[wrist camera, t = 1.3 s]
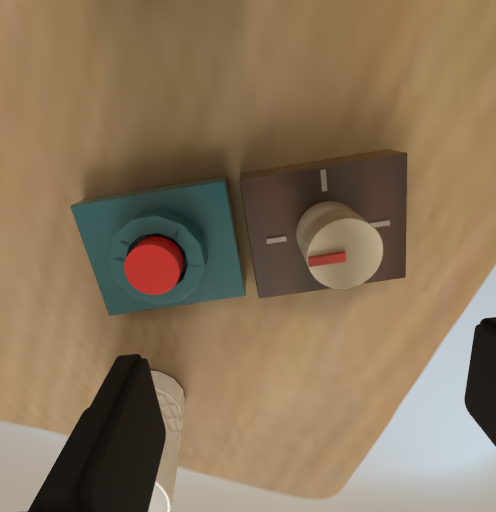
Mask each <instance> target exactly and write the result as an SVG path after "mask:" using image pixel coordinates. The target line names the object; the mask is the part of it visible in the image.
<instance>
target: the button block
mask: <svg viewBox="0 0 496 512" xmlns="http://www.w3.org/2000/svg"><path fill="white" fill-rule="evenodd" d="M71 209H72V212H73V215H74V217H75V220H76V223H77V226H78V229H79V232H80V234H81V237H82V240H83V243H84V246H85V248H86V251H87V254H88V257H89V260H90V262H91V265H92V268H93V271H94V274H95V276H96V279H97V282H98V285H99V288H100V290H101V293H102V296H103V299H104V302H105V305H106V307H107V310H108V313H109V315H116V314H123V313H130V312H137V311H144V310H151V309H157V308H164V307H171V306H178V305H185V304H192V303H199V302H205V301H212V300H219V299H226V298H233V297H240V296H245V295H246V283H245V277H244V272H243V266H242V261H241V255H240V249H239V244H238V238H237V233H236V227H235V221H234V216H233V210H232V205H231V199H230V194H229V188H228V182H227V177H226V176H223V177H217V178H211V179H205V180H199V181H193V182H187V183H181V184H174V185H168V186H162V187H156V188H150V189H144V190H138V191H132V192H126V193H119V194H113V195H107V196H101V197H95V198H89V199H84V200H82V201H80V202H77V203H75V204H73V205H71ZM152 236H159V237H164V238H167V239H169V240H171V241H172V242H173V243H175V244H176V245H177V246H178V247H179V249H180V250H181V252H182V255H183V259H184V266H183V270H182V272H181V274H180V277H179V279H178V281H177V283H176V285H175V286H174V287H173V288H172V289H171V290H169V291H168V292H166V293H163V294H159V295H151V294H146V293H143V292H141V291H139V290H137V289H136V288H134V287H133V286H132V285H131V284H130V282H129V281H128V279H127V277H126V275H125V271H124V264H125V260H126V257H127V255H128V254H129V253H130V252H131V250H132V249H133V248H134V247H135V246H136V245H137V244H138V243H139V242H140V241H141V240H143V239H145V238H147V237H152Z"/></svg>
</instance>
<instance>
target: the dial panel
mask: <svg viewBox="0 0 496 512" xmlns="http://www.w3.org/2000/svg"><path fill="white" fill-rule="evenodd" d="M239 182H240V188H241V194H242V200H243V206H244V212H245V218H246V224H247V230H248V236H249V242H250V248H251V254H252V260H253V266H254V272H255V278H256V284H257V290H258V296H259V298H267V297H274V296H281V295H288V294H295V293H301V292H308V291H315V290H322V289H329V288H331V287H328V286H325V285H323V284H322V283H320V282H319V281H317V280H316V279H315V278H314V276H313V275H312V274H311V272H310V270H309V268H308V265H307V263H306V261H305V259H304V256H303V254H302V252H301V250H300V247H299V245H298V242H297V238H296V230H297V225H298V223H299V220H300V218H301V217H302V215H303V214H304V213H305V212H306V211H307V210H308V209H309V208H311V207H312V206H314V205H316V204H318V203H321V202H325V201H336V202H340V203H343V204H345V205H347V206H348V207H350V208H351V209H352V210H353V211H355V212H356V213H357V214H358V215H360V216H361V217H362V218H363V219H365V220H366V221H367V222H368V223H370V224H371V225H372V226H373V227H374V228H375V229H376V230H377V231H378V233H379V235H380V237H381V239H382V243H383V257H382V261H381V263H380V265H379V267H378V269H377V271H376V272H375V273H374V274H373V275H372V276H371V277H370V278H369V279H368V280H367V281H365V282H364V283H370V282H377V281H384V280H391V279H398V278H405V273H406V194H407V153H404V152H399V151H394V150H383V151H376V152H370V153H364V154H358V155H352V156H346V157H340V158H334V159H327V160H321V161H315V162H309V163H303V164H297V165H291V166H285V167H279V168H272V169H266V170H260V171H254V172H248V173H242V174H240V179H239ZM362 284H363V283H362Z"/></svg>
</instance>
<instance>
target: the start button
mask: <svg viewBox="0 0 496 512" xmlns="http://www.w3.org/2000/svg"><path fill="white" fill-rule="evenodd" d="M183 266H184V259H183V255H182V252H181V250H180V249H179V247H178V246H177V245H176V244H175V243H173V242H172V241H171V240H169V239H167V238H164V237H159V236H152V237H147V238H145V239H143V240H141V241H140V242H139V243H138V244H137V245H136V246H135V247H134V248H133V249H132V250H131V252H130V253H129V254H128V255H127V257H126V260H125V264H124V271H125V275H126V277H127V279H128V281H129V282H130V284H131V285H132V286H133V287H134V288H136V289H137V290H139V291H141V292H143V293H146V294H151V295H159V294H163V293H166V292H168V291H169V290H171V289H172V288H173V287H174V286H175V285H176V283H177V281H178V279H179V277H180V274H181V272H182V270H183Z"/></svg>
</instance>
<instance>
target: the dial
mask: <svg viewBox="0 0 496 512" xmlns="http://www.w3.org/2000/svg"><path fill="white" fill-rule="evenodd" d="M296 238H297V242H298V245H299V247H300V250H301V252H302V254H303V256H304V259H305V261H306V263H307V265H308V268H309V270H310V272H311V274H312V275H313V276H314V278H315V279H316V280H317V281H319V282H320V283H322V284H323V285H325V286H328V287H331V288H335V289H348V288H352V287H355V286H358V285H360V284H362V283H364V282H365V281H367V280H368V279H369V278H370V277H371V276H372V275H373V274H374V273H375V272H376V271H377V269H378V267H379V265H380V263H381V261H382V257H383V243H382V239H381V237H380V235H379V233H378V231H377V230H376V229H375V228H374V227H373V226H372V225H371V224H370V223H368V222H367V221H366V220H365V219H363V218H362V217H361V216H360V215H358V214H357V213H356V212H355V211H353V210H352V209H351V208H350V207H348V206H347V205H345V204H343V203H340V202H336V201H325V202H321V203H318V204H316V205H314V206H312V207H311V208H309V209H308V210H307V211H306V212H305V213H304V214H303V215H302V217H301V218H300V220H299V223H298V225H297V230H296Z"/></svg>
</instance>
